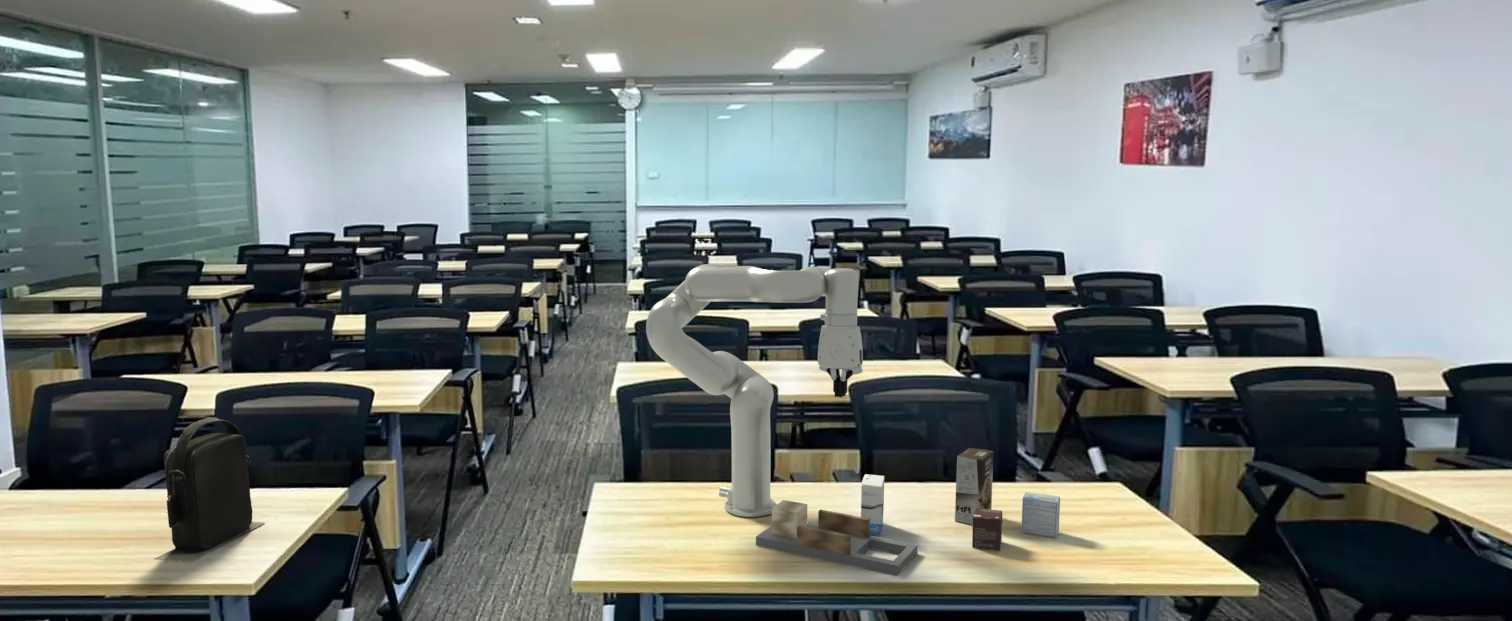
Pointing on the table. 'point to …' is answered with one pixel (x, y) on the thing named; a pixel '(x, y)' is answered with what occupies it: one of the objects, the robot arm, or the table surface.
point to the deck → (857, 550)
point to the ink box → (873, 501)
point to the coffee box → (973, 483)
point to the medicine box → (1040, 514)
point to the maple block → (788, 518)
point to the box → (987, 529)
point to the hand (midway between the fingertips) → (840, 395)
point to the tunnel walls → (833, 539)
